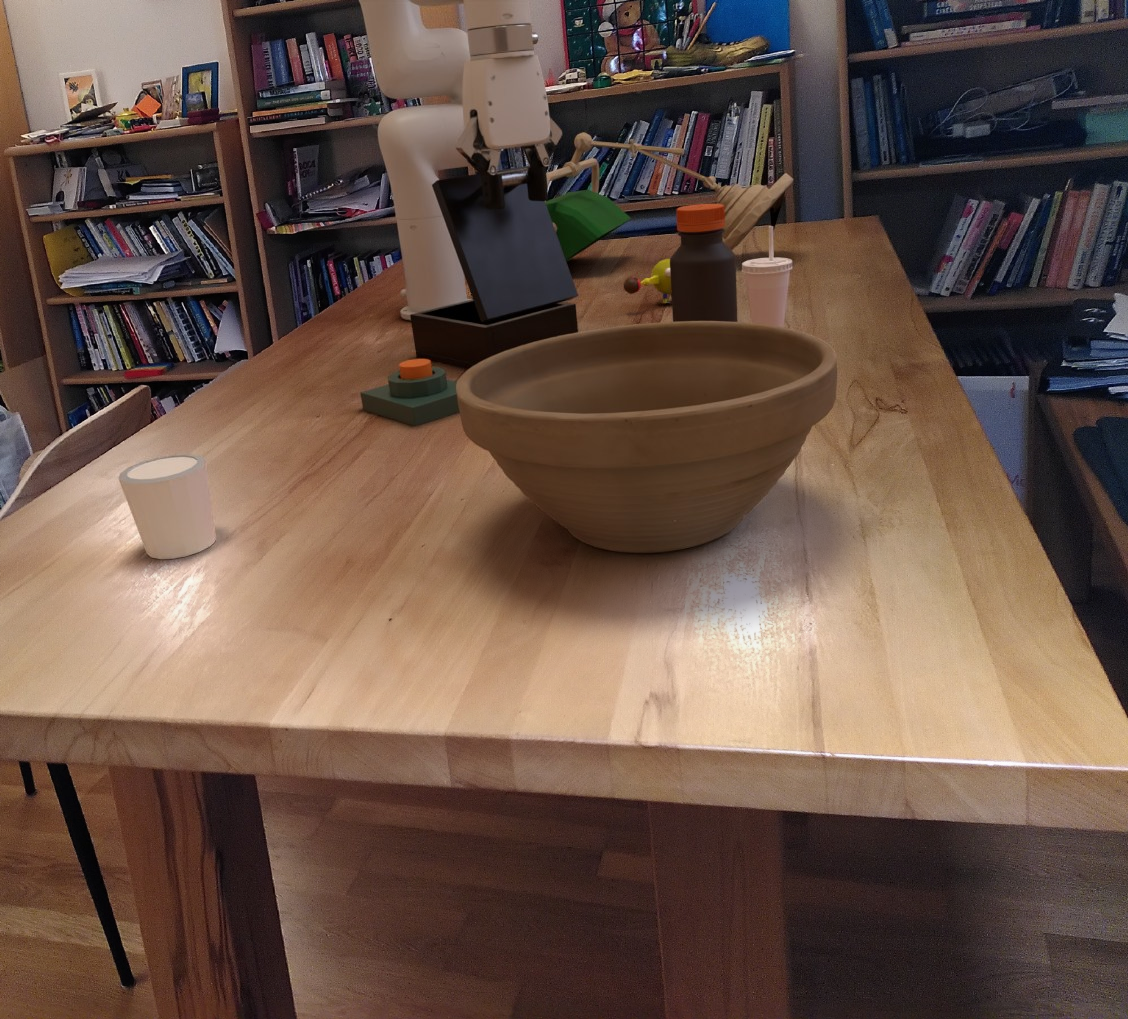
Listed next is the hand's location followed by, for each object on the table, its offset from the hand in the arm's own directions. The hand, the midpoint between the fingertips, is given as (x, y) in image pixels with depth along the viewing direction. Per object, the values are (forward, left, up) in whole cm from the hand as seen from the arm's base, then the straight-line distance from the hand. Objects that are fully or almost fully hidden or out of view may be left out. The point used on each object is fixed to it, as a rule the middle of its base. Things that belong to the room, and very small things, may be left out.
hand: (517, 203), depth 128 cm
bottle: (+30, 0, -20) cm, 36 cm away
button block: (+5, -21, -20) cm, 29 cm away
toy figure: (-8, +34, -20) cm, 40 cm away
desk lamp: (-33, +59, -20) cm, 70 cm away
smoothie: (+19, +24, -20) cm, 37 cm away
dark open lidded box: (-8, 0, -20) cm, 21 cm away
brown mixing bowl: (+49, -28, -20) cm, 60 cm away
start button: (+5, -21, -16) cm, 27 cm away
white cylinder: (+21, -56, -20) cm, 63 cm away
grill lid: (-3, 0, -5) cm, 6 cm away
